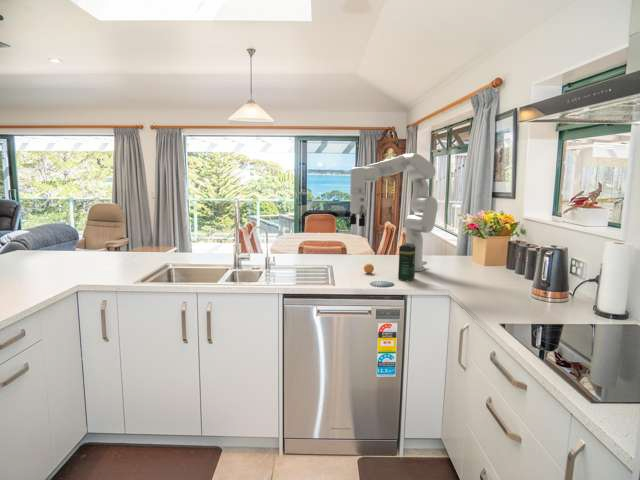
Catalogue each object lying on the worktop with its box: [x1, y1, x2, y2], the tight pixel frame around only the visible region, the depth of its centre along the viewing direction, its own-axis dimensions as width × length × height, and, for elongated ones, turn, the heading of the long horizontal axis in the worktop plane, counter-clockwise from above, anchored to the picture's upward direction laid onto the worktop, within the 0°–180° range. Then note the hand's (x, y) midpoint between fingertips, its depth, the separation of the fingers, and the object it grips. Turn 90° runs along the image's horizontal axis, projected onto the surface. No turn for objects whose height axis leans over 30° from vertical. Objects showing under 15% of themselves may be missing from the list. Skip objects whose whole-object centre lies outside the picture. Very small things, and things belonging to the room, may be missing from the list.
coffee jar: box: [397, 242, 416, 281], centre depth 211 cm, size 10×8×19 cm
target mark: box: [369, 280, 395, 288], centre depth 201 cm, size 12×12×1 cm
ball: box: [363, 263, 375, 274], centre depth 226 cm, size 6×6×6 cm
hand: (357, 225), depth 210 cm, fingers open, 9 cm apart
